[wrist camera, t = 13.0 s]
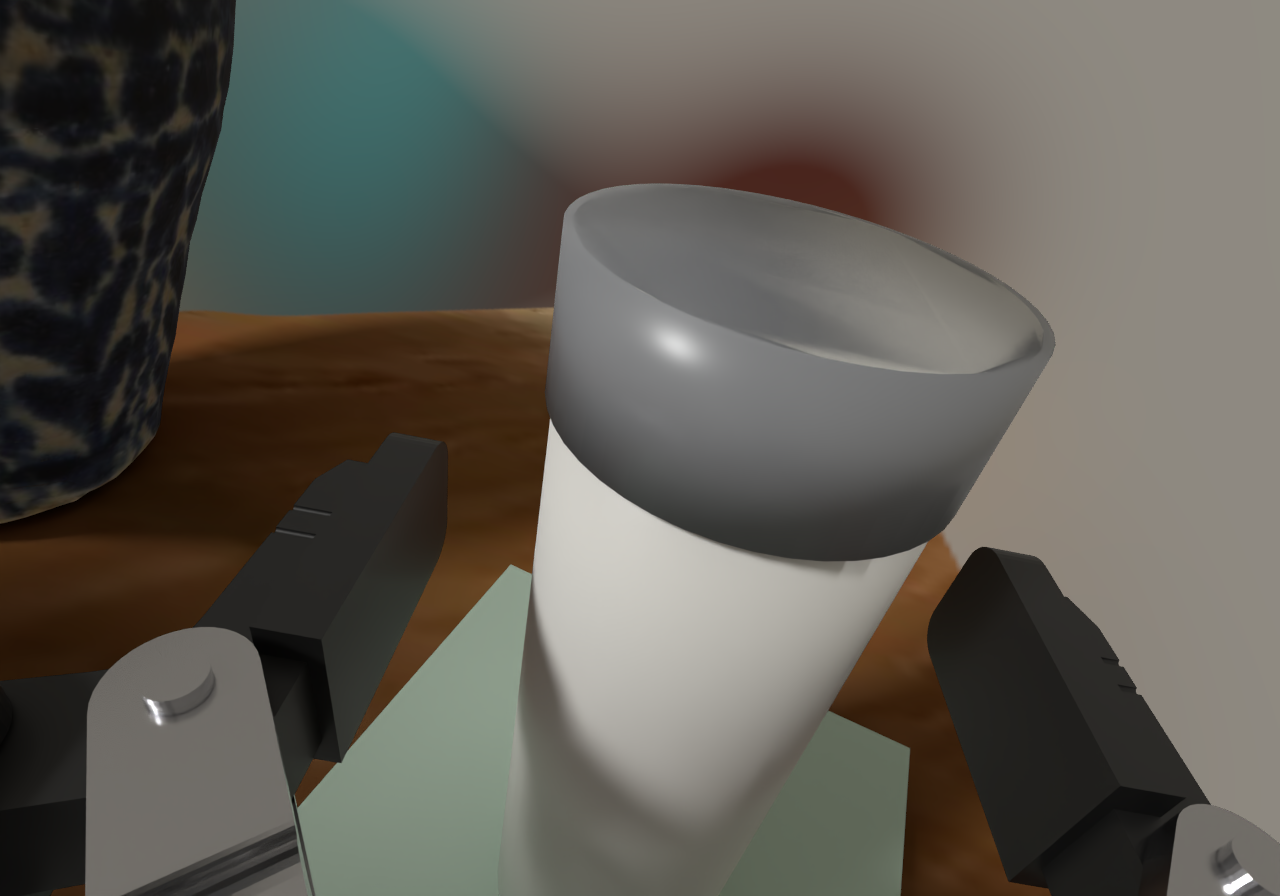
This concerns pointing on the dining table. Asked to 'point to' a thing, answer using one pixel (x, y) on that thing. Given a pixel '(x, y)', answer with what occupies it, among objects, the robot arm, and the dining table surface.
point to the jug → (97, 226)
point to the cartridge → (730, 511)
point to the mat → (479, 769)
